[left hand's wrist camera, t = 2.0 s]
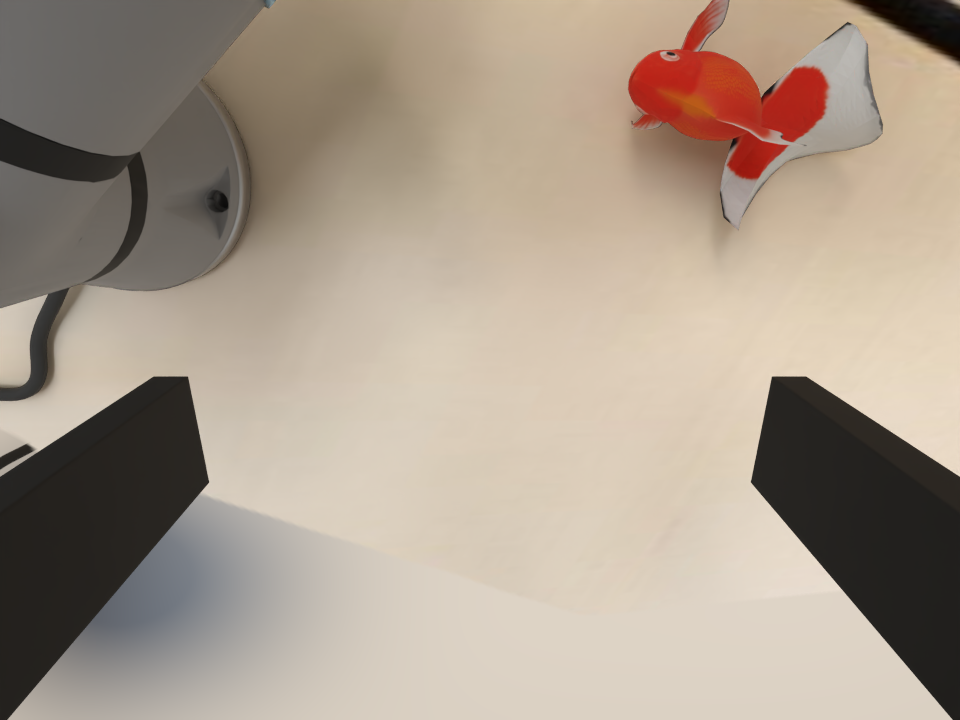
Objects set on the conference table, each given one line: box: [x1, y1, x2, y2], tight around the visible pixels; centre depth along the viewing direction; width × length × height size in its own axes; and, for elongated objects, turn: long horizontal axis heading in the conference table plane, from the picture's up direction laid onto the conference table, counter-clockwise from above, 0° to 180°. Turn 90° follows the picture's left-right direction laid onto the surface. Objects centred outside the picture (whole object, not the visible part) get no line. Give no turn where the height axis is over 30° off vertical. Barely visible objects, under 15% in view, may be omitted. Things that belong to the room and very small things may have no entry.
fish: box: [628, 0, 883, 230], centre depth 30 cm, size 11×16×10 cm
